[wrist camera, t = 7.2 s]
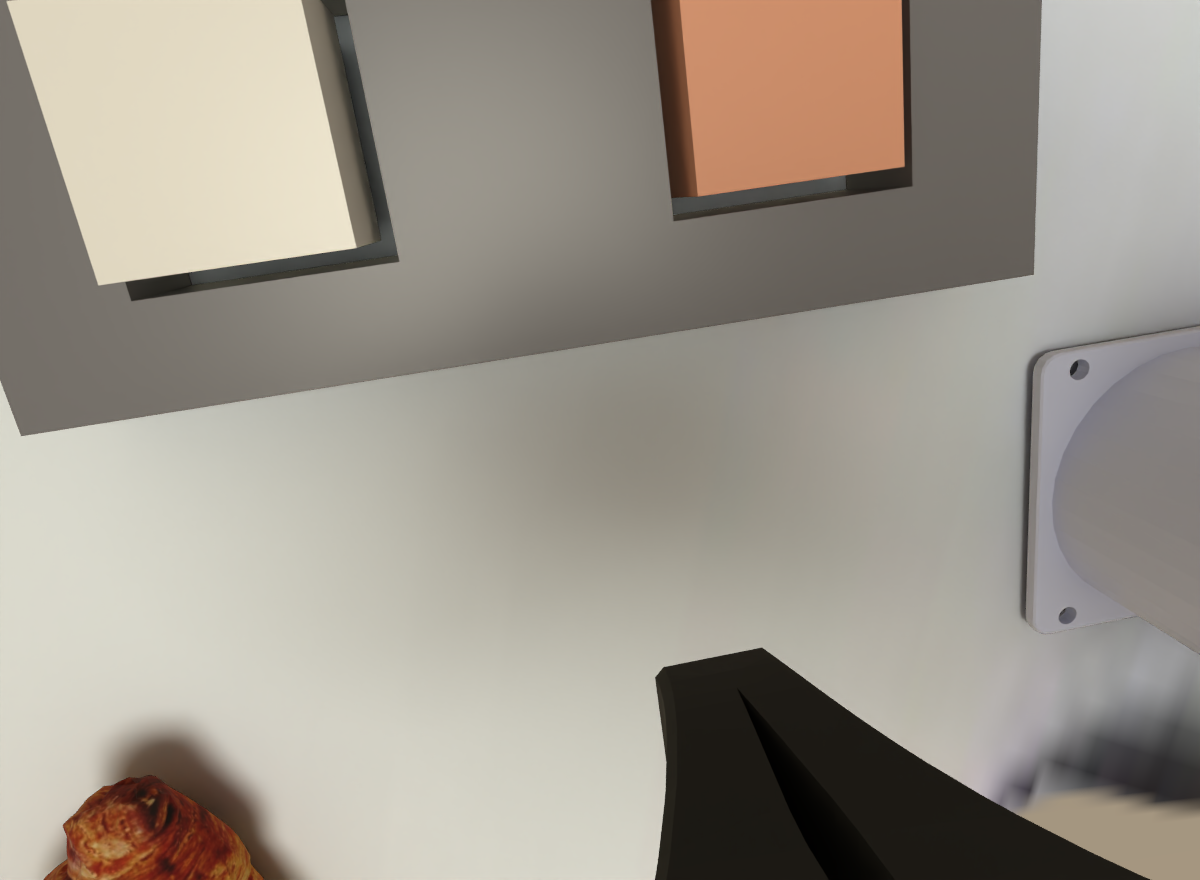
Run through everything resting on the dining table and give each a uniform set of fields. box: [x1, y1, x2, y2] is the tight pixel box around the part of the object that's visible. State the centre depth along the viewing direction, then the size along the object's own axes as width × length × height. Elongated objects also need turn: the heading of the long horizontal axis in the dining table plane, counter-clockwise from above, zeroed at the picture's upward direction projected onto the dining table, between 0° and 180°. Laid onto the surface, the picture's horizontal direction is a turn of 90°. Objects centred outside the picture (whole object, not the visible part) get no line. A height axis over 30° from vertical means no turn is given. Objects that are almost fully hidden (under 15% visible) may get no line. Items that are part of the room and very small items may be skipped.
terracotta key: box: [651, 0, 905, 198], centre depth 15 cm, size 4×4×3 cm
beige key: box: [7, 0, 381, 285], centre depth 13 cm, size 4×4×3 cm
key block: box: [0, 0, 1042, 436], centre depth 16 cm, size 20×9×3 cm, turn 98°
